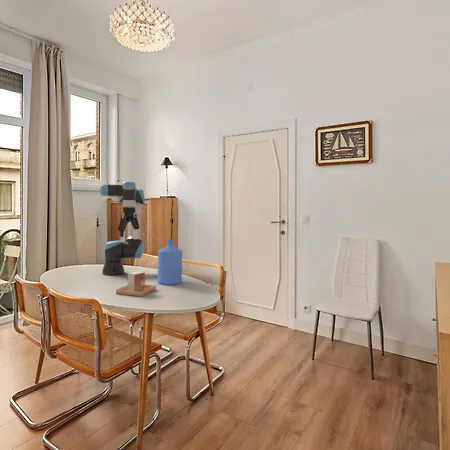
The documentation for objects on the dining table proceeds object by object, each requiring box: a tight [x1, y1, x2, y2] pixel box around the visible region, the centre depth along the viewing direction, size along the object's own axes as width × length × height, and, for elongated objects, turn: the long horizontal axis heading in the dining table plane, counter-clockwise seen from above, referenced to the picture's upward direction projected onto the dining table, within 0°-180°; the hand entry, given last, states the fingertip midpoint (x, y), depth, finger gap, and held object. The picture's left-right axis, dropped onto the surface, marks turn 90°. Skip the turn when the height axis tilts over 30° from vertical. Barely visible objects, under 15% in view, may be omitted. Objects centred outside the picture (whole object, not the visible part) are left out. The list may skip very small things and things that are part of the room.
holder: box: [115, 283, 157, 298], centre depth 190 cm, size 16×16×2 cm
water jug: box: [157, 238, 183, 286], centre depth 213 cm, size 16×16×28 cm
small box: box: [127, 270, 146, 291], centre depth 189 cm, size 8×6×10 cm
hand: (129, 240), depth 206 cm, fingers open, 13 cm apart
